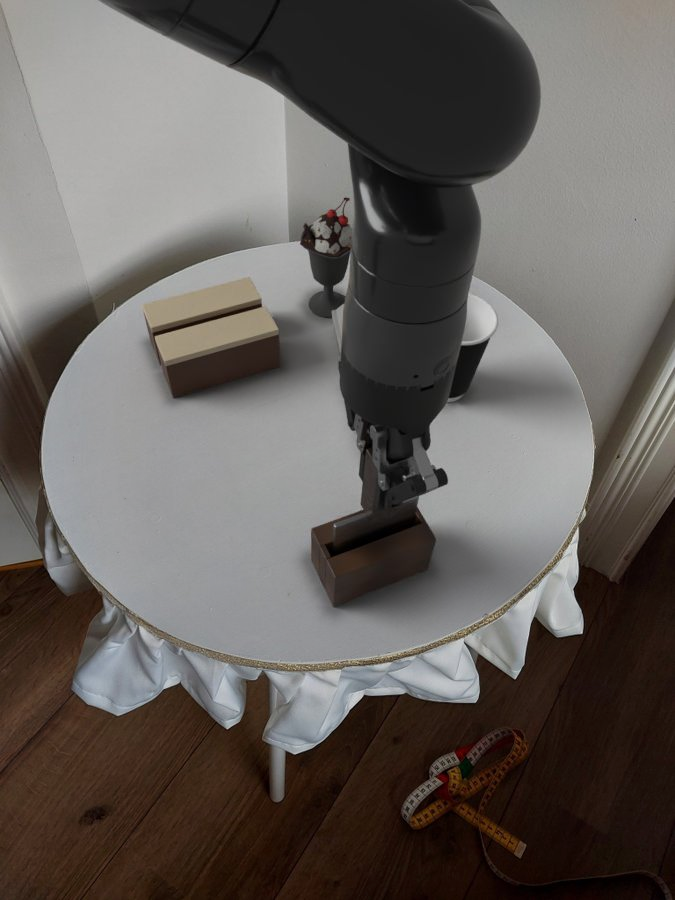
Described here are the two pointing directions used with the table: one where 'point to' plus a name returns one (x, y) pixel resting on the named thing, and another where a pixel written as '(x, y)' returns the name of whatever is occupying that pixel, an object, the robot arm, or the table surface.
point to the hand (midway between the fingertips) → (379, 490)
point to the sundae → (328, 258)
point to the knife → (371, 516)
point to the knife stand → (370, 559)
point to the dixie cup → (473, 343)
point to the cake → (212, 336)
